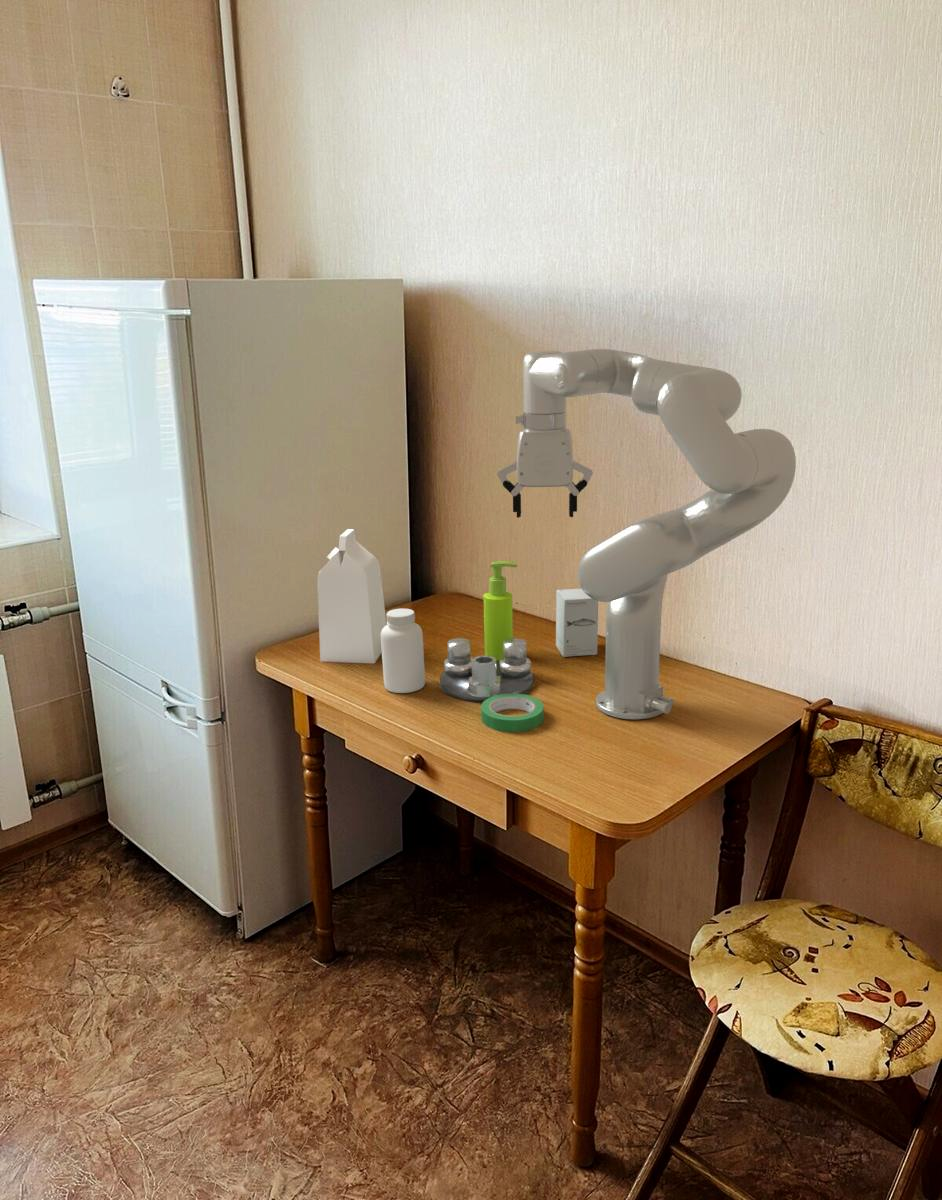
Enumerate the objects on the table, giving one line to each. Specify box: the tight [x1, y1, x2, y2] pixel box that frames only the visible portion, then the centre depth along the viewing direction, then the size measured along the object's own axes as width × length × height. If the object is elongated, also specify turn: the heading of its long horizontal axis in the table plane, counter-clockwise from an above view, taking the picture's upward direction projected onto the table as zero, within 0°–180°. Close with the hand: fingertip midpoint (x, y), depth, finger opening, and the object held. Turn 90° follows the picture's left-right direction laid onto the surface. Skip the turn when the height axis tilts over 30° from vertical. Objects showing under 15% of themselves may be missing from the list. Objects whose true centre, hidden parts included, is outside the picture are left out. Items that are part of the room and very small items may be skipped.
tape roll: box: [480, 694, 545, 733], centre depth 168 cm, size 11×11×3 cm
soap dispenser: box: [483, 560, 518, 660], centre depth 195 cm, size 6×7×20 cm
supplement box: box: [555, 588, 599, 658], centre depth 197 cm, size 7×7×13 cm
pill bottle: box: [381, 608, 426, 694], centre depth 181 cm, size 8×8×15 cm
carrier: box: [439, 637, 534, 703], centre depth 183 cm, size 18×18×7 cm
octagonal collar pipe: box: [468, 655, 501, 696], centre depth 177 cm, size 6×6×6 cm
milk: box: [316, 528, 387, 664], centre depth 198 cm, size 12×12×26 cm
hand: (544, 515), depth 176 cm, fingers open, 9 cm apart
